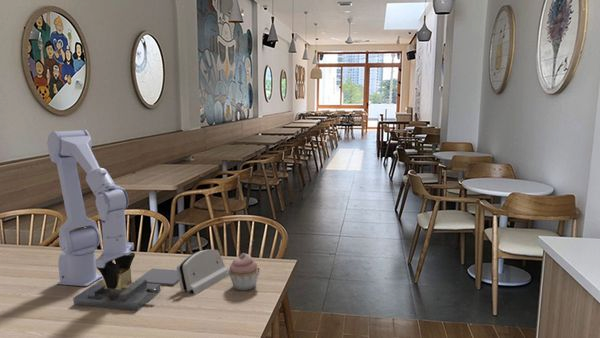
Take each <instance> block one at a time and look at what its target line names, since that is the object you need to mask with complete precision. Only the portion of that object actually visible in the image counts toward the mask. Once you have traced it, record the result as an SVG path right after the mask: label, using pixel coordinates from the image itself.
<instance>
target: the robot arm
mask: <svg viewBox="0 0 600 338" xmlns="http://www.w3.org/2000/svg"><path fill="white" fill-rule="evenodd" d="M47 136H48V137H47V142H46V144H47V150H48V155H49V157H50V158H49V159H50V162H52V163H55V164H56V167H57V168H56V169H57V173H58V178H59V183H60V188H61V193H62V198H63V203H64V208H65V209H64V210H65V213H66V221H65V222H64V223H63V224H62V225H61V226H60V227H59V228H58V244H59V247H60V250H61V251H62V253H60V254H59V257H58V264H57V265H58V275H59V276H58V277H59V281H58V282H57V284H58V285H63V286H64V285H65V286H66V285H67V286H80V287H88V286H89V285H92V284H94V282H96V281H98V280H99V279H100V278H102V279H103V278H104V280H105V283H106V285H107V288H108V289H115V288H116V285H117V272H118V268H131V265H132V263H133V260H134V258H135V257H136V254H135V252H132V251H133V250H135V245H134V244H135V243H134V242H129V241H128V242H127V228H126V225H127V224H126V214H125V213H126V211H125V210H126V209H127V208H128V207H129V203H130V202H129V201H130V200H129V195H128V193H127V191H126V189H125V188H123V187H121V186H120V185H116V182H114V180H113V179H112V178H113V177H111V175H110V173H109V172H108V170H107V169H106V168H103V167H100V165H99V163H98V161H97V158H96V156H95V155H94V153H93V150H92V137H91V135H90V133H89V131H88V130H86V129H81V130H80V129H79V130H77V129H76V130H60V131H56V130H51V132H49V134H48V135H47ZM77 163H78V164H79V166H80V167H81V168H82V169H83V171H84V172H85V173H86V176H85V182H86V184H87V185H88V186H89V188H90V190H91V191H92V193H93V195H94V197H95V206H96V209H97V212H98V213H97V214H98V217H99V220H101V228H102V229H101V230H102V231H101V232H102V237H101V232H100V230H99V228H98V225H97V221H95V220H93V219H91V218H89V217H88V216H87V213H86V208H85V203H84V197H83V192H82V188H81V182H80V177H79V172H78V166H77ZM79 228H80V229H79ZM74 229H75V230H74ZM101 238H102V239H101ZM101 240H102V244H103V248H102V249H103V251H102V253H101V254H100V256H99V257H98V258H96V251H97V250H98V246H100V244H101ZM97 270H98V271H99V273H97Z"/></svg>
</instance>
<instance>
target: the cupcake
mask: <svg viewBox="0 0 600 338" xmlns="http://www.w3.org/2000/svg"><path fill="white" fill-rule="evenodd" d="M228 270H229V271H228V272H227V273H228V274H229V276H228V277H230V280H231V284H232V287H233V288H234V290H238V291H249V290H252V289H255V287H256V285H257V281H258V276H259V274H260V272H261V271H260V270H261V268H260V267H258V263H257V261H256V260H255V259H253V258H252V256H251V255H250V254H248V253H244V252H242V253H241V254H240V255H239V256H237V257H234V259H233V261H232V262H231V264H230V265H229V268H228Z"/></svg>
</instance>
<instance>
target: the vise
mask: <svg viewBox="0 0 600 338" xmlns="http://www.w3.org/2000/svg"><path fill="white" fill-rule="evenodd" d="M117 274H119V273H117ZM161 290H162V289H161V285H160V284H151V283H147V280H145V279H139V280H138V281H137V282H135V281H132V282H131V283H130V284H129V285H127V286H126V287H125V288H123V289H122V290H115V289H104V284H103V279H100V280H99V281H97V282H96V283H93V284H92V285H91V286H90V287H88V288H87V289H85V290H83V291H82V292H80V293H79V294H78V295H76V296H74V297H73V306H80V307H90V308H91V307H92V308H102V309H103V308H105V309H115V310H124V311H126V310H127V311H135V312H136V311H140V309H142V308H143V307H144V306H145V305H146V304H147V303H148V302H150V301H151V300H152V299H153V298H154V297H155V296H157V295H158V294H159V293H160V292H161Z"/></svg>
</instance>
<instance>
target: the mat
mask: <svg viewBox="0 0 600 338" xmlns="http://www.w3.org/2000/svg"><path fill="white" fill-rule="evenodd" d="M139 279H145V280H147V283H151V284H160V286H171V287H172V286H173V287H174V286H176V285H177V284H178V283H180V282H179V277H178V273H177V269H164V268H151V269H150V270H148V271H146V272H145V273H144V274H143V275H141V276H140V277H138V278H137V279H136V280H135V281H134V282H137V281H138V280H139Z"/></svg>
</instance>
